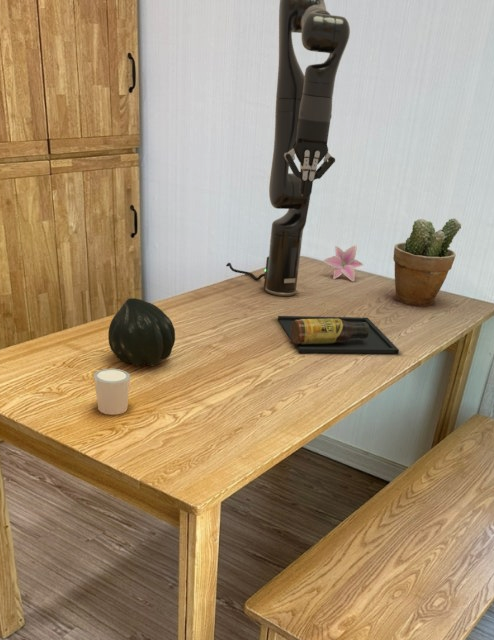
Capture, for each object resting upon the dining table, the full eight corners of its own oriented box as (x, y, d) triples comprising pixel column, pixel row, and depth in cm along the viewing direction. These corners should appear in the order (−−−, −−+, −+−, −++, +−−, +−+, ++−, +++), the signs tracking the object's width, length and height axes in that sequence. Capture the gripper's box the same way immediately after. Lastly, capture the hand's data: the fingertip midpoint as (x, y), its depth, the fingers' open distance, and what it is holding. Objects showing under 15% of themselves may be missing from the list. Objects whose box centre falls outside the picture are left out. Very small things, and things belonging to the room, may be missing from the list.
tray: (299, 353, 171) (300, 348, 170) (277, 319, 190) (278, 315, 190) (398, 354, 177) (399, 349, 176) (367, 321, 196) (367, 317, 195)
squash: (196, 335, 159) (156, 279, 155) (168, 359, 147) (124, 299, 143) (154, 364, 167) (115, 311, 163) (124, 389, 155) (81, 332, 151)
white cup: (96, 399, 139) (95, 367, 135) (131, 401, 140) (131, 368, 136) (92, 415, 134) (91, 381, 130) (129, 416, 134) (128, 383, 131)
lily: (316, 277, 234) (323, 255, 225) (333, 257, 239) (340, 236, 231) (346, 295, 232) (354, 274, 224) (362, 275, 238) (371, 254, 229)
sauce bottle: (292, 314, 172) (364, 310, 179) (287, 334, 177) (357, 330, 183) (301, 331, 169) (374, 327, 175) (295, 351, 173) (366, 346, 180)
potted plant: (408, 312, 207) (427, 224, 194) (372, 292, 220) (387, 209, 207) (455, 308, 215) (476, 223, 201) (418, 289, 228) (435, 209, 215)
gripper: (336, 118, 167) (325, 194, 177) (283, 113, 164) (275, 191, 174) (346, 122, 161) (334, 201, 171) (291, 117, 158) (282, 198, 168)
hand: (304, 196), depth 172 cm, fingers closed
